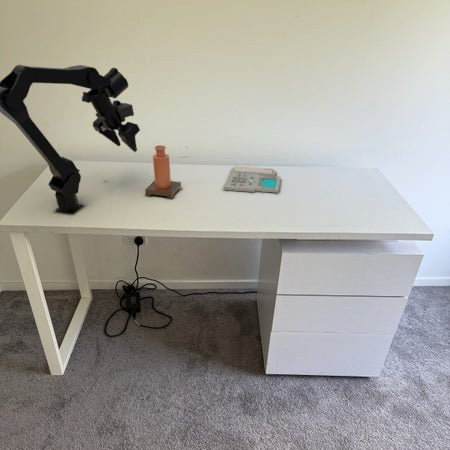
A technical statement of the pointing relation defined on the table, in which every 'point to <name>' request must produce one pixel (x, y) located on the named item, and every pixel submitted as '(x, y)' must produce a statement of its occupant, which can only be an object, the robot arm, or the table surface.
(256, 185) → the office telephone
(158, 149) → the vase
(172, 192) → the stand
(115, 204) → the table surface
